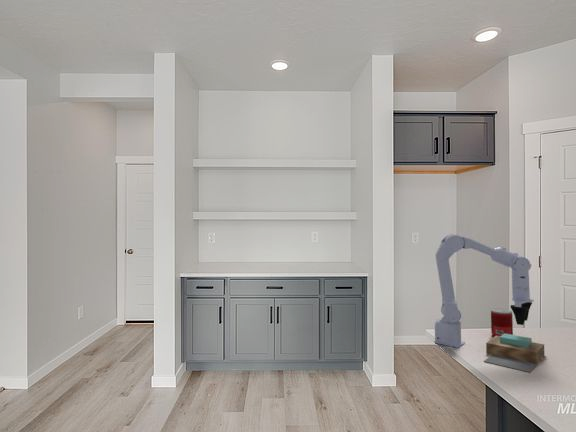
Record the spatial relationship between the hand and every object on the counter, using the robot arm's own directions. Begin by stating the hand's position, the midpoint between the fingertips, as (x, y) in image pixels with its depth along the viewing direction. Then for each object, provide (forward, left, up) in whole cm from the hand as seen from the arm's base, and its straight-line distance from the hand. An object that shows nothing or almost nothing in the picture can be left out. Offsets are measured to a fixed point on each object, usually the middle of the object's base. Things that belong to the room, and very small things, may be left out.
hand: (522, 322), depth 146 cm
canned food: (-10, +11, -10) cm, 18 cm away
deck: (0, -10, -10) cm, 14 cm away
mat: (+1, -21, -10) cm, 23 cm away
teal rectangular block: (0, -9, -6) cm, 11 cm away
